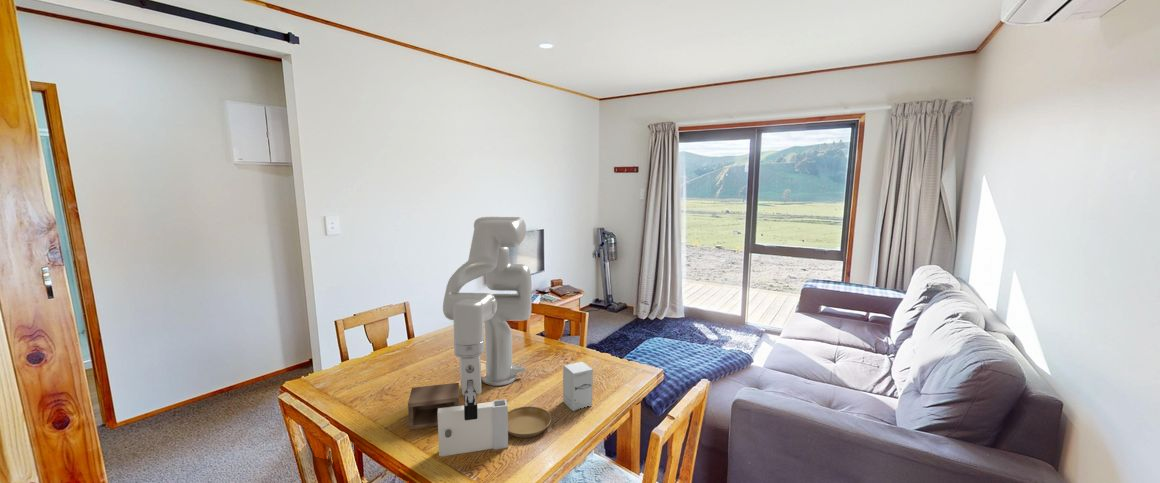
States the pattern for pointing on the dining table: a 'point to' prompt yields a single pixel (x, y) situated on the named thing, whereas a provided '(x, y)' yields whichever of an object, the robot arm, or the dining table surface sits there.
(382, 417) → the dining table surface
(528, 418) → the plant saucer
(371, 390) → the dining table surface
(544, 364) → the dining table surface
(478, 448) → the door
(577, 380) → the supplement box
